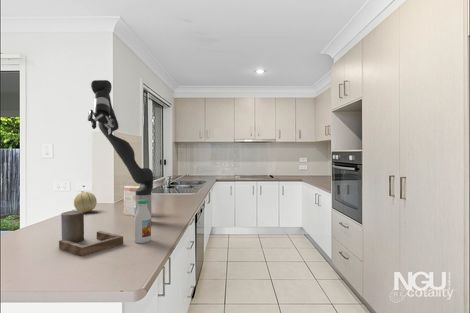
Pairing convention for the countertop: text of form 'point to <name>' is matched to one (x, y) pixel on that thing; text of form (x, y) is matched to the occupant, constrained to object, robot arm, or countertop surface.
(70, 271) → the countertop surface
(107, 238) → the display frame
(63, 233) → the pillar candle
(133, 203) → the coffeecake box
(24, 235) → the countertop surface
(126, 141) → the robot arm
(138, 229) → the milk bottle
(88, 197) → the cantaloupe
